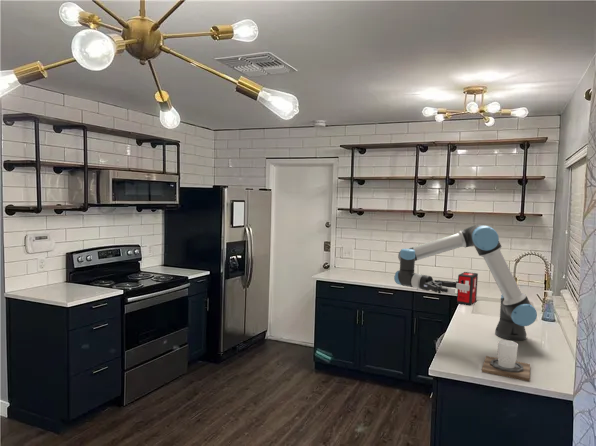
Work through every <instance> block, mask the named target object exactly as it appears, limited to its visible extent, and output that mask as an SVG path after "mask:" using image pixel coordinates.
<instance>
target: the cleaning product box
mask: <svg viewBox="0 0 596 446" xmlns="http://www.w3.org/2000/svg"><path fill="white" fill-rule="evenodd" d="M478 275H479V273H476V272H468V271H464V272H461V273H460V274H458V277H457V281H458V283H460V284H465V285H470V288H469V291H466V290H461V289H457V291H456V292H457V294H456V305H457V304H458V305H463V306H469V307H471V306H472V305H474V304H475V303H476V302H477V295H478V279H479V276H478Z"/></svg>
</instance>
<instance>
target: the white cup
mask: <svg viewBox="0 0 596 446" xmlns="http://www.w3.org/2000/svg"><path fill="white" fill-rule="evenodd" d="M518 349H519V344H518V343H517V342H515V341H514V340H510V339H500V340H498V341H497V358H498V365H499V366H501V367H504V368H514V367H515V363H516V361H517V358H518V357H517V355H518Z"/></svg>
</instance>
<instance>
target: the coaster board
mask: <svg viewBox="0 0 596 446" xmlns="http://www.w3.org/2000/svg"><path fill="white" fill-rule="evenodd" d="M481 372H482V373H486V374H492V375H497V376H502V377H506V378H510V379H516V380H520V381H525V382H526V381H527V382H530V381H531V380H530V377H531V376H530V374H531V363H526V362H521V361H517V360H516V363H515V367H514V368H504V367H501V366H499V365H498V357H495V356H489V355H486V356H485V358H484V362H483V365H482V369H481Z"/></svg>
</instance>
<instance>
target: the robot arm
mask: <svg viewBox="0 0 596 446" xmlns="http://www.w3.org/2000/svg"><path fill="white" fill-rule="evenodd" d="M468 247H469V248H470V247H474V249H475V251H476V253H477V254H478V256H479V257H482V258H483V260H484V261H485V263H486V265H487V268H488V269H489V271H490V274H491V275H492V277H493V279H494V281H495V283H496V285H497V287H498V289H499V291H500V293H501V296H500V309H499V321H498V323H497V325H496V328H495V332H494V334H495V336H497V337H499V338H501V339H504V340H509V341H524V340H525V341H526V339H527V331H526V328H525V327H528V326H531V325H533V324H534V323H535V321H536V319H537V318H538V312H537V309H536V308H535V306H534V305H532V304H531V302H530V300H529V298H528V296H527V294H525V293H523V292H522V291H521V289H520V287H519V286H518V283H517V281H516V279H515V277H514V275H513V273H512V272H511V269H510V268H509V266H508V263H507V261H506V259H505V257H504V255H503V254H502V251H501V249H502V244H501V242H500V237H499V234H498V232H497V231H496V230H495V229H494V228H493V227H492V226H489V225H484V224H481V223H479V224H478V223H477V224H474V225H471V226H469V227H467V228H464V229H460V230H459V231H458V232H457V233H454V234H452V235H447V236H445V237H441V238H438V239H435V240H431V241H428V242H425V243H423V244H419V245H416V246H415V245H414V246H413V247H410V248H402V249H400V250H399V252H398V254H397V255H398V256H397V257H398V260H399V270H397V271H396V272H395V273H394V277H393V278H394V282H395V284H397V285H400V286H402V287H408V288H414V289H416V290H421V291H427V292H428V291H429V292H430V291H431V292H435V293H438V294H441V293H443V294H448V295H453V296H455V295H456V289H457V290H458V289H461V290H466V291H469V288H470V285H465V284H460V283H458V280H457V281H448V280H440V279H438V280H437V279H433V277H432V276H431V275H427V274H421V273H415V263H416V261H419V260H422V259H426V258H429V257H433V256H435V255H439V254H442V253H446V252H448V251H449V252H450V251H453V250H456V249H459V248H465V249H466V248H468Z"/></svg>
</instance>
